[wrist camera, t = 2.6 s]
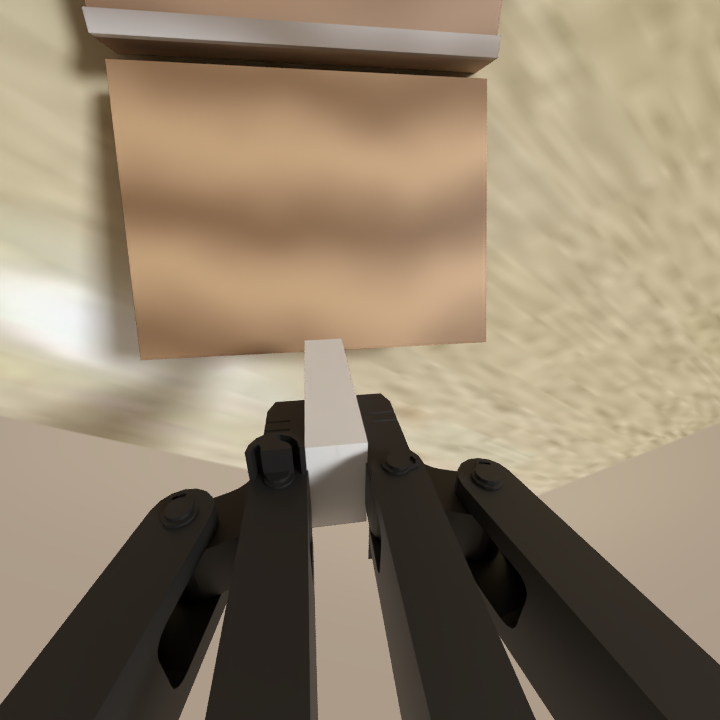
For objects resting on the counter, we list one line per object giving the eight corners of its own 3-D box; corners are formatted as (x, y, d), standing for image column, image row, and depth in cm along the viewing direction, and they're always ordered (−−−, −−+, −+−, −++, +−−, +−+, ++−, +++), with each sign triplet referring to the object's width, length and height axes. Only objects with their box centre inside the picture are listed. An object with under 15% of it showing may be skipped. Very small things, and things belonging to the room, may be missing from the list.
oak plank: (129, 89, 17) (105, 58, 15) (469, 103, 19) (486, 78, 17) (159, 355, 18) (140, 360, 16) (469, 339, 21) (485, 341, 19)
